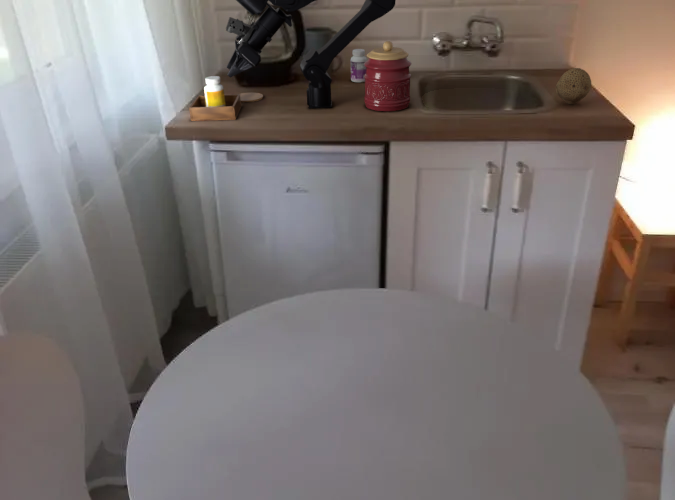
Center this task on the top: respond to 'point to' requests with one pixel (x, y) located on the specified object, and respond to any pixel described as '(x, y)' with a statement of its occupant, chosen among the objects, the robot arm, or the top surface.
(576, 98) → the natural sponge
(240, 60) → the robot arm
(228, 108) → the wooden tray
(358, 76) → the pill bottle
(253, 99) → the coaster
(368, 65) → the kitchen canister
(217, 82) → the supplement bottle
